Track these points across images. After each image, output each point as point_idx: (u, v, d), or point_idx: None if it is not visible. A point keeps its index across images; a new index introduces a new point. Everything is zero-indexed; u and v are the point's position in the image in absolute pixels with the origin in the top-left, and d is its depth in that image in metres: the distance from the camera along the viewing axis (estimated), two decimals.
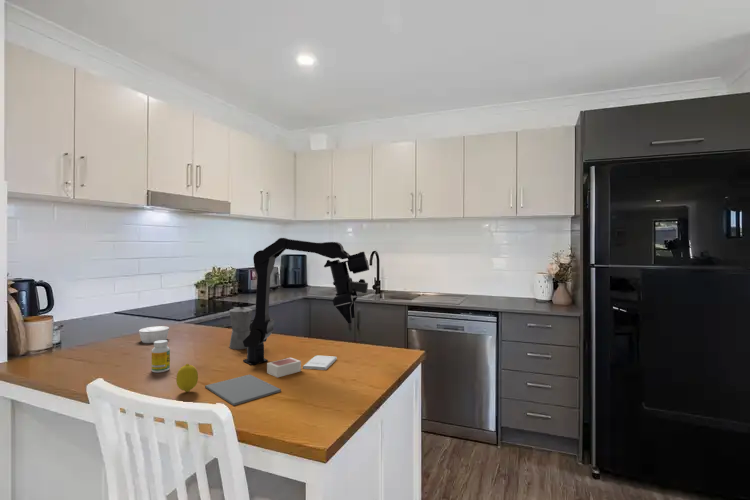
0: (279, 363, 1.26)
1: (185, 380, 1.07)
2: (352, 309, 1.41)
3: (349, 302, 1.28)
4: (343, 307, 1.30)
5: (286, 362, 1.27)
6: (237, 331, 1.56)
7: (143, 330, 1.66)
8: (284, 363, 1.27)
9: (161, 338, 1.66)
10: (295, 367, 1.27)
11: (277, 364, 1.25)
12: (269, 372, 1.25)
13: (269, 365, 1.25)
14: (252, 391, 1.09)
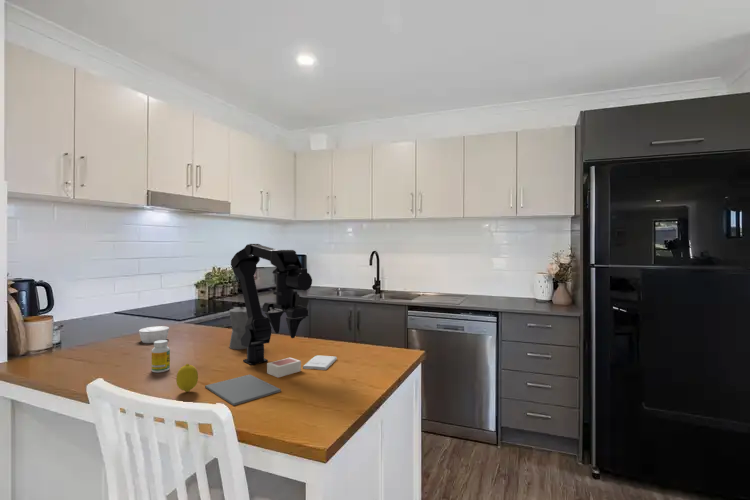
0: (279, 363, 1.26)
1: (185, 380, 1.07)
2: (278, 324, 1.31)
3: None
4: (293, 320, 1.23)
5: (286, 362, 1.27)
6: (237, 331, 1.56)
7: (143, 330, 1.66)
8: (284, 363, 1.27)
9: (161, 338, 1.66)
10: (295, 367, 1.27)
11: (277, 364, 1.25)
12: (269, 372, 1.25)
13: (269, 365, 1.25)
14: (252, 391, 1.09)
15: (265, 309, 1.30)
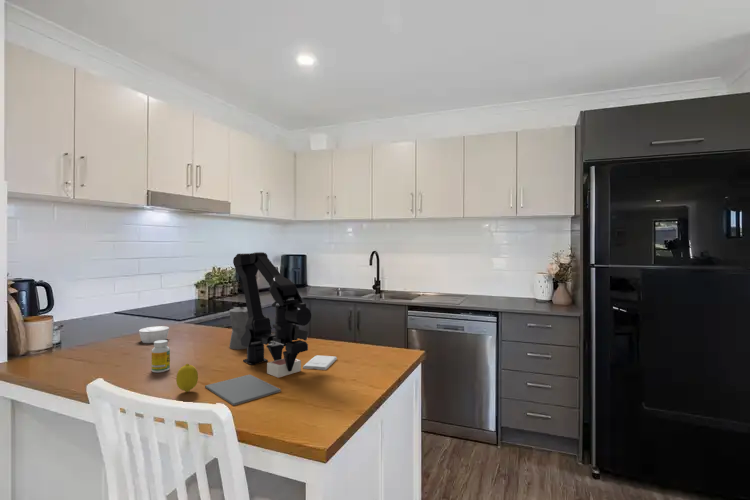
0: (279, 363, 1.26)
1: (185, 380, 1.07)
2: (279, 357, 1.30)
3: None
4: (290, 354, 1.24)
5: None
6: (237, 331, 1.56)
7: (143, 330, 1.66)
8: (284, 362, 1.27)
9: (161, 338, 1.66)
10: (295, 366, 1.27)
11: (277, 364, 1.25)
12: (269, 372, 1.25)
13: (269, 365, 1.25)
14: (252, 391, 1.09)
15: (264, 342, 1.30)
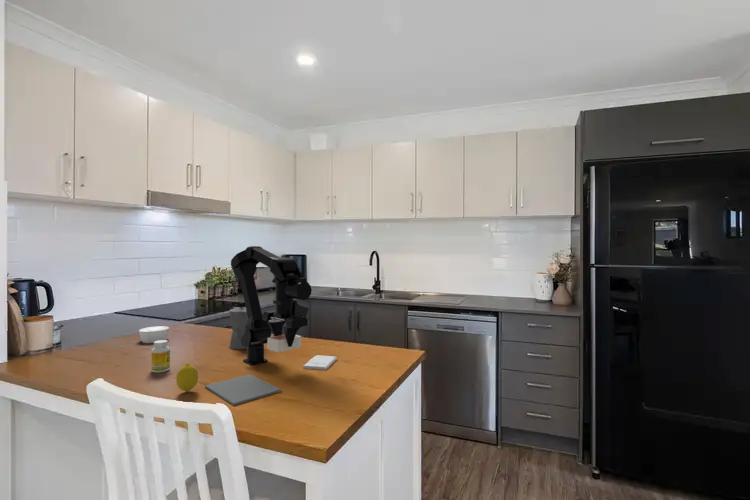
0: (279, 338, 1.26)
1: (185, 380, 1.07)
2: (280, 333, 1.30)
3: None
4: (290, 329, 1.24)
5: None
6: (237, 331, 1.56)
7: (143, 330, 1.66)
8: (284, 337, 1.26)
9: (161, 338, 1.66)
10: (295, 342, 1.27)
11: (278, 339, 1.25)
12: (269, 347, 1.25)
13: (269, 340, 1.25)
14: (252, 391, 1.09)
15: (265, 318, 1.30)
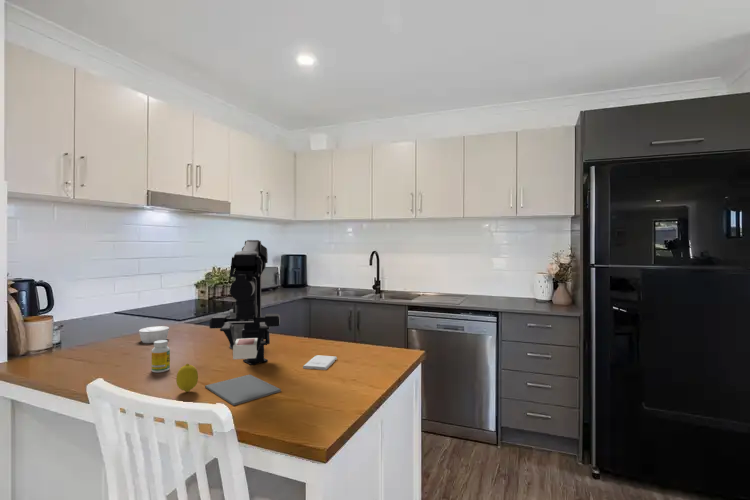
0: (247, 343, 1.10)
1: (185, 380, 1.07)
2: (234, 340, 1.11)
3: None
4: None
5: (250, 341, 1.12)
6: (237, 331, 1.56)
7: (143, 330, 1.66)
8: (249, 342, 1.11)
9: (161, 338, 1.66)
10: None
11: (248, 344, 1.09)
12: (238, 356, 1.07)
13: (238, 347, 1.07)
14: (252, 391, 1.09)
15: (218, 325, 1.07)
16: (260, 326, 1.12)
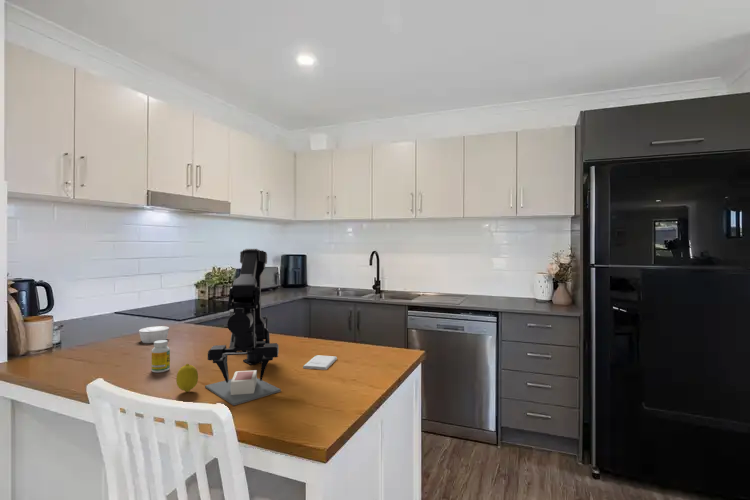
0: (245, 377, 1.09)
1: (185, 380, 1.07)
2: (227, 371, 1.11)
3: None
4: None
5: (248, 375, 1.12)
6: None
7: (143, 330, 1.66)
8: (247, 376, 1.11)
9: (161, 338, 1.66)
10: None
11: (246, 379, 1.08)
12: (236, 391, 1.07)
13: (236, 383, 1.07)
14: None
15: (216, 357, 1.07)
16: (263, 356, 1.12)
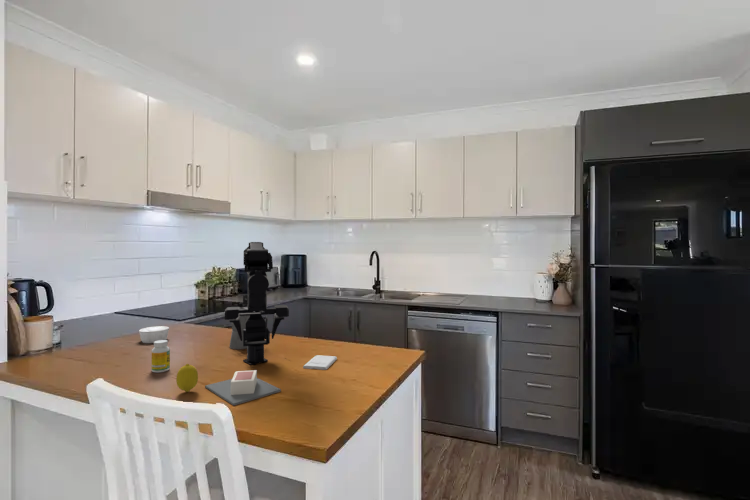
0: (245, 377, 1.09)
1: (185, 380, 1.07)
2: (241, 330, 1.20)
3: None
4: None
5: (248, 375, 1.12)
6: None
7: (143, 330, 1.66)
8: (247, 376, 1.11)
9: (161, 338, 1.66)
10: None
11: (246, 379, 1.08)
12: (236, 391, 1.07)
13: (236, 383, 1.07)
14: None
15: (233, 316, 1.16)
16: (275, 316, 1.22)
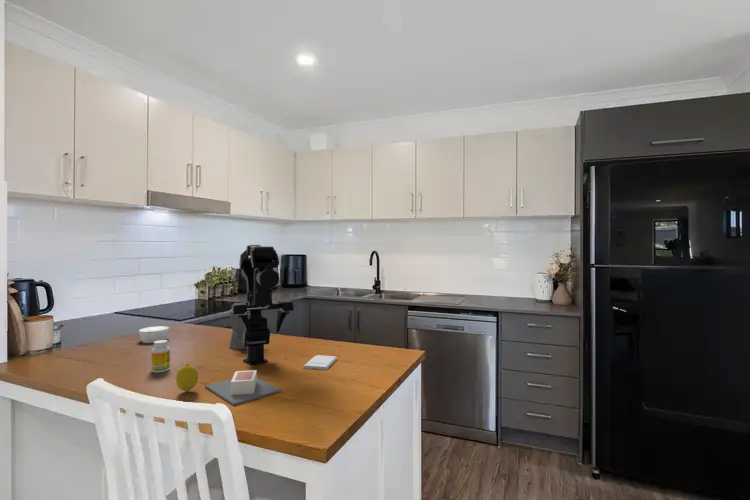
0: (245, 377, 1.09)
1: (185, 380, 1.07)
2: None
3: None
4: None
5: (248, 375, 1.12)
6: (237, 331, 1.56)
7: (143, 330, 1.66)
8: (247, 376, 1.11)
9: (161, 338, 1.66)
10: None
11: (246, 379, 1.08)
12: (236, 391, 1.07)
13: (236, 383, 1.07)
14: None
15: (241, 311, 1.19)
16: (280, 311, 1.27)
